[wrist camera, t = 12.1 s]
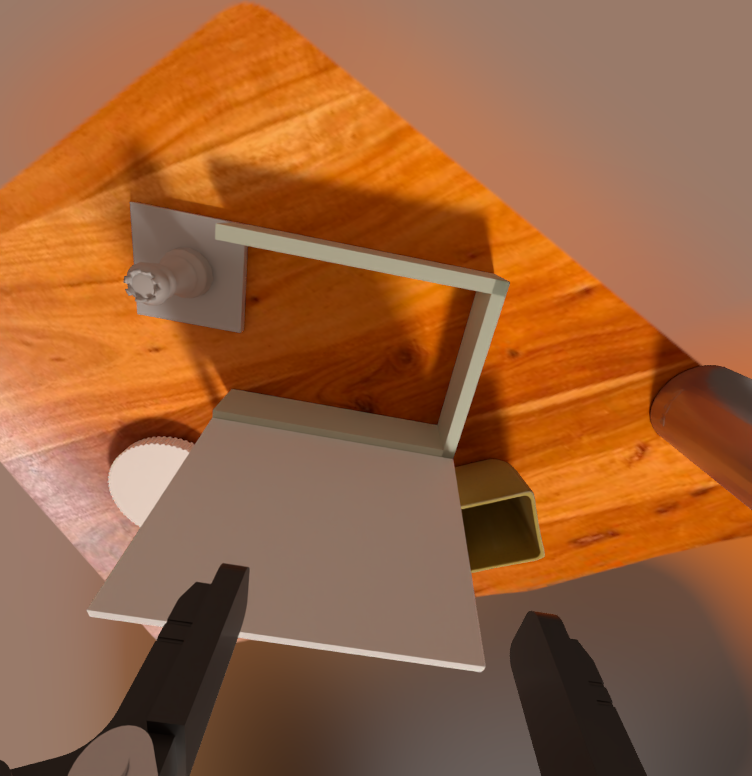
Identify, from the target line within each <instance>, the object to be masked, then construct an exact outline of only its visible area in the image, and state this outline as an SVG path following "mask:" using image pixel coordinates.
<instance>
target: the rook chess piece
mask: <svg viewBox="0 0 752 776" xmlns="http://www.w3.org/2000/svg"><path fill="white" fill-rule="evenodd" d="M212 281H213V274H212V268H211V266H210V265H209V263H208V261H207V259H206V258H205V257H204V256H203V255H202V254H201V253H200V252H198V251H196V250H193V249H191V248H185V247H179V248H177V249H174V250H171V251H169V252H167V253H166V254H165V255H164V256H163V258H162V259H161V260H160V263H151V264H150V263H147V262H139V263H137V264H134V265H132V266H131V268H130V269H129V270H128V273H127V276H125V277H124V283H127V285H128V289H125V290H126V292H127V293H128V295H129V296H130V295H133V296H134V297H135V298H136V299H135V301H137V302H139V303H144V304H146V305H149V306H158V305H160V304H162V303H164V302H165V301H166V300H167V298H170V297H172V296H173V294H174V295H176V296H179V297H181V298H194V297H199V296H201V295H204V294H205V293H206V292H207V291H208V290H209V289H210V288H211V284H212Z"/></svg>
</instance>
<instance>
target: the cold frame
mask: <svg viewBox="0 0 752 776" xmlns="http://www.w3.org/2000/svg"><path fill="white" fill-rule="evenodd" d="M215 239H216V240H221V241H226V242H231V243H236V244H241V245H246V246H251V247H256V248H261V249H266V250H271V251H276V252H281V253H286V254H291V255H297V256H302V257H307V258H312V259H317V260H322V261H327V262H332V263H337V264H342V265H347V266H352V267H357V268H362V269H367V270H372V271H378V272H383V273H388V274H393V275H398V276H403V277H408V278H413V279H418V280H423V281H428V282H433V283H438V284H443V285H448V286H453V287H459V288H464V289H469V290H474V291H476V294H475V297H474V301H473V304H472V308H471V311H470V315H469V318H468V321H467V325H466V328H465V332H464V335H463V339H462V342H461V346H460V349H459V352H458V356H457V359H456V363H455V366H454V370H453V373H452V376H451V380H450V383H449V387H448V390H447V394H446V397H445V401H444V404H443V407H442V411H441V414H440V418H439V421H438V425H434V424H428V423H423V422H417V421H411V420H406V419H400V418H394V417H389V416H383V415H377V414H372V413H366V412H360V411H355V410H349V409H343V408H338V407H332V406H327V405H321V404H315V403H310V402H304V401H298V400H293V399H287V398H281V397H276V396H270V395H264V394H259V393H253V392H247V391H242V390H236V389H231V390H230V391H229V392H228V394H227V395H226V396H225V397H224V398H223V399H222V400H221V401H220V403H219V404H218V405H217V406H216V407H215V408H214V409H213V418H218V419H224V420H229V421H235V422H241V423H247V424H253V425H258V426H264V427H270V428H276V429H282V430H287V431H293V432H299V433H305V434H310V435H316V436H322V437H328V438H334V439H339V440H345V441H351V442H357V443H363V444H368V445H374V446H380V447H386V448H392V449H397V450H403V451H409V452H415V453H421V454H426V455H432V456H438V457H444V458H450V459H453V457H454V454H455V451H456V448H457V445H458V442H459V439H460V436H461V433H462V430H463V427H464V423H465V420H466V417H467V414H468V411H469V408H470V405H471V402H472V399H473V396H474V393H475V389H476V386H477V383H478V380H479V377H480V374H481V371H482V368H483V365H484V362H485V359H486V355H487V352H488V349H489V346H490V343H491V340H492V337H493V334H494V331H495V328H496V325H497V321H498V318H499V315H500V312H501V309H502V306H503V303H504V300H505V297H506V294H507V291H508V287H509V284H510V282H509V281H507V280H505V279H503V278H501V277H499V276H498V275H496V274H493V273H488V272H483V271H478V270H473V269H468V268H463V267H458V266H453V265H448V264H443V263H438V262H433V261H428V260H423V259H418V258H413V257H408V256H403V255H398V254H393V253H388V252H383V251H378V250H373V249H368V248H363V247H358V246H353V245H348V244H343V243H338V242H333V241H328V240H323V239H318V238H313V237H308V236H303V235H298V234H293V233H288V232H283V231H278V230H273V229H268V228H263V227H258V226H253V225H244V224H239V223H216V226H215Z"/></svg>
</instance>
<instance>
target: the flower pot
mask: <svg viewBox="0 0 752 776" xmlns="http://www.w3.org/2000/svg"><path fill="white" fill-rule="evenodd" d="M455 474H456V480H457V487H458V493H459V499H460V506H461V512H462V518H463V525H464V531H465V538H466V544H467V550H468V557H469V563H470V570H471V573H473V572H479V571H483V570H488V569H493V568H498V567H503V566H508V565H513V564H519V563H524V562H530V561H535V560H538V559H541V558H543V557H544V556H545V552H544V547H543V543H542V539H541V534H540V529H539V524H538V517H537V511H536V504H535V498H534V494H533V492H532V490H531V489H530V488H529V486H528V485H527V484H526V482H525V481H524V480H523V479H522V477H521V476H520V475H519V473H518V472H517V471H516V470H515V469H514V467H512V466H511V465H510V464H508V463H507V462H504V461H502V460H497V459H488V460H483V461H479V462H475V463H471V464H466V465H462V466H457V467H455Z"/></svg>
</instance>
